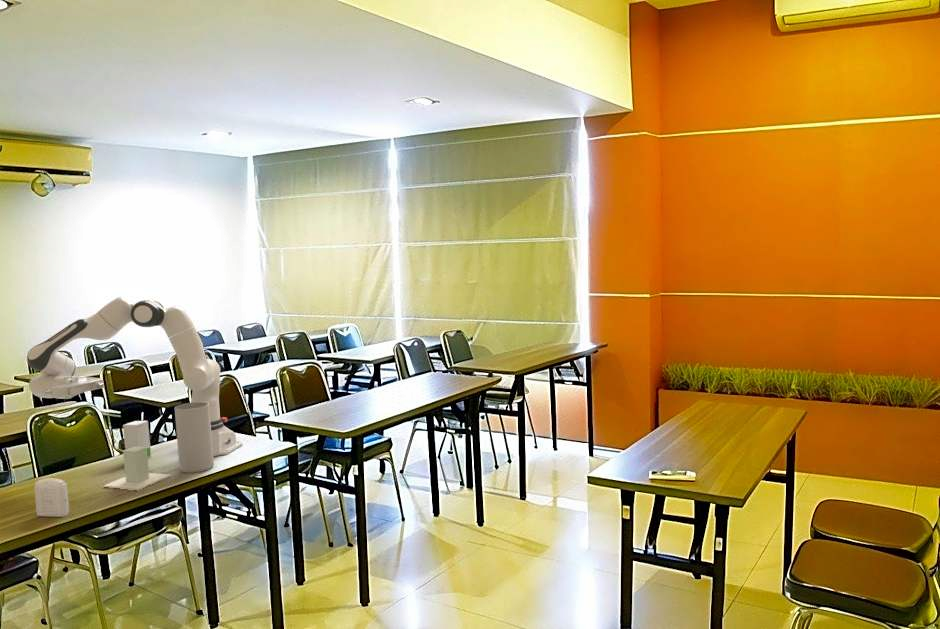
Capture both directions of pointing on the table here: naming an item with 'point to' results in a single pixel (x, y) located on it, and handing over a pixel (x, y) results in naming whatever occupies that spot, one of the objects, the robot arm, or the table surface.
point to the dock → (137, 486)
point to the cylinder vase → (194, 437)
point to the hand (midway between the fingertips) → (92, 388)
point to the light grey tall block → (136, 464)
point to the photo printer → (51, 497)
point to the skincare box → (137, 435)
